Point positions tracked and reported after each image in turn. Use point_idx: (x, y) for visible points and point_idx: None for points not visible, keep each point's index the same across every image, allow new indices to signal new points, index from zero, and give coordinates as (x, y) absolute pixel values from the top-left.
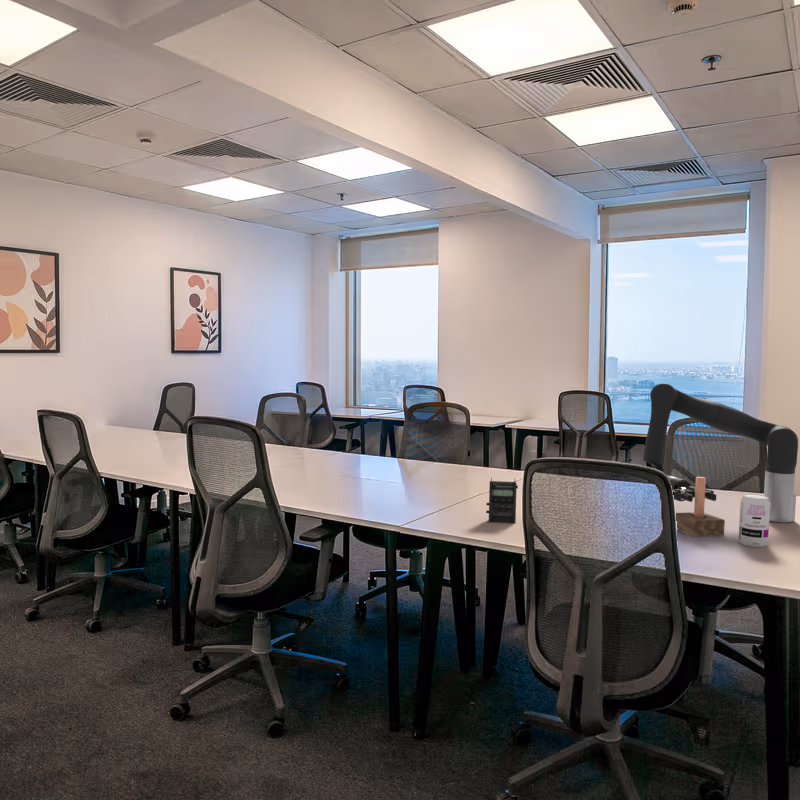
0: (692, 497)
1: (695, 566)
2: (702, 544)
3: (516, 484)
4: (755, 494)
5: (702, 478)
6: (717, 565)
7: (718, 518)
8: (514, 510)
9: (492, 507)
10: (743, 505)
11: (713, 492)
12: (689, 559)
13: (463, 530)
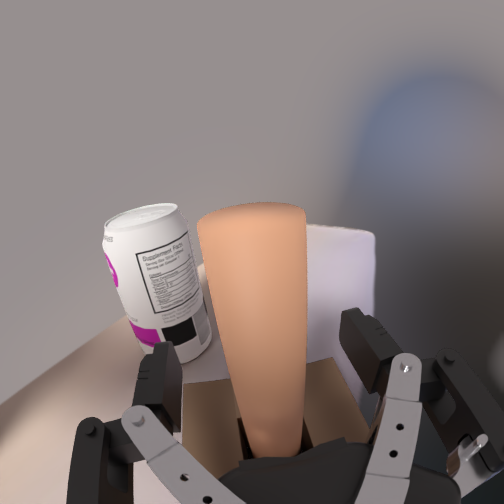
0: (342, 318)
1: (361, 244)
2: (322, 330)
3: None
4: (110, 228)
5: (255, 204)
6: (328, 249)
7: (193, 406)
8: None
9: None
10: (189, 235)
11: (94, 423)
12: (367, 260)
13: None
